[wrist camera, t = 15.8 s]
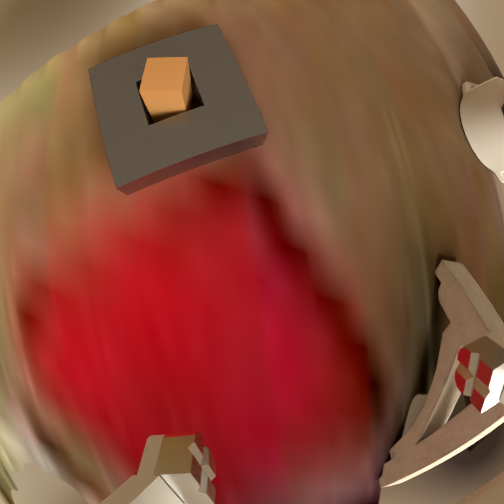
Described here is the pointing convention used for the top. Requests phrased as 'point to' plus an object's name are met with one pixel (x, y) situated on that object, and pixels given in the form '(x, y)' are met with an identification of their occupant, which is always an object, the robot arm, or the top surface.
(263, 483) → the top surface
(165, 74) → the square block
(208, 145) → the square hole plate
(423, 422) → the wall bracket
